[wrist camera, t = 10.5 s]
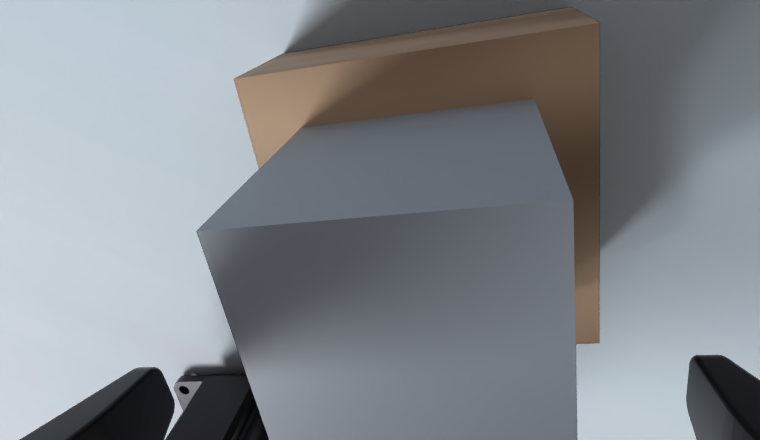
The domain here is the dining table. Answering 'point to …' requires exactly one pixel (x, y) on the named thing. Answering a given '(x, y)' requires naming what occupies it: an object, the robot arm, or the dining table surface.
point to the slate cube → (405, 280)
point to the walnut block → (456, 101)
